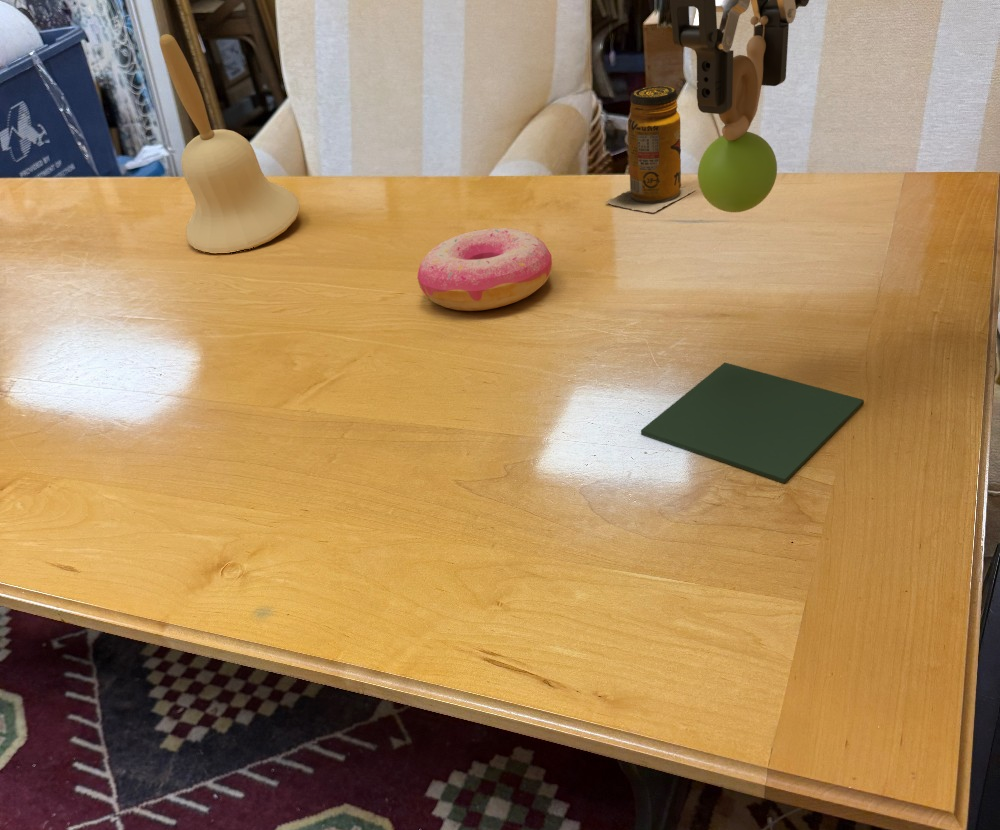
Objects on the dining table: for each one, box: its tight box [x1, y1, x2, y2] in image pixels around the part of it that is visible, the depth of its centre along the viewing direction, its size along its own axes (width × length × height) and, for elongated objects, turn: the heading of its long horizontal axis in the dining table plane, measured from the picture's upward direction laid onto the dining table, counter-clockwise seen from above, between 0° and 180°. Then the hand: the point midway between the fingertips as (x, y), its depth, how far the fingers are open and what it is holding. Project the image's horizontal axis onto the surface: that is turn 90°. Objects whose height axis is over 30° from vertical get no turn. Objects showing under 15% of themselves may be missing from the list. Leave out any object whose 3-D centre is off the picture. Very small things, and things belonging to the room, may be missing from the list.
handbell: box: [159, 33, 301, 252], centre depth 111 cm, size 15×15×25 cm
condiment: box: [604, 85, 696, 214], centre depth 107 cm, size 7×8×12 cm
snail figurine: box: [697, 15, 778, 213], centre depth 63 cm, size 5×6×12 cm
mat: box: [640, 362, 865, 484], centre depth 69 cm, size 12×12×1 cm
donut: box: [417, 227, 553, 312], centre depth 93 cm, size 14×13×5 cm
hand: (742, 96), depth 62 cm, fingers closed on snail figurine, 6 cm apart
